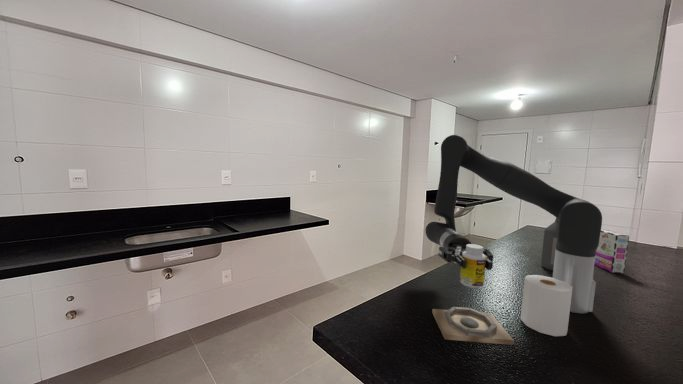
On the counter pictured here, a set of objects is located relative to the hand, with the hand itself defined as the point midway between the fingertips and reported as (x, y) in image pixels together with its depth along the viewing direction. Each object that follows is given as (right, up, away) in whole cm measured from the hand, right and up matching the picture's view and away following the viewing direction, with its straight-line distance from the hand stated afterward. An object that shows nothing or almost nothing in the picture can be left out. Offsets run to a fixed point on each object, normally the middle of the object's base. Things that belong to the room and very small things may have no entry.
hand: (477, 265), depth 67 cm
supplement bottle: (0, -6, +3) cm, 7 cm away
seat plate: (0, -17, +4) cm, 18 cm away
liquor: (+59, -15, +49) cm, 78 cm away
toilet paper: (+21, -18, +6) cm, 28 cm away
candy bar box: (+83, -16, +51) cm, 99 cm away
